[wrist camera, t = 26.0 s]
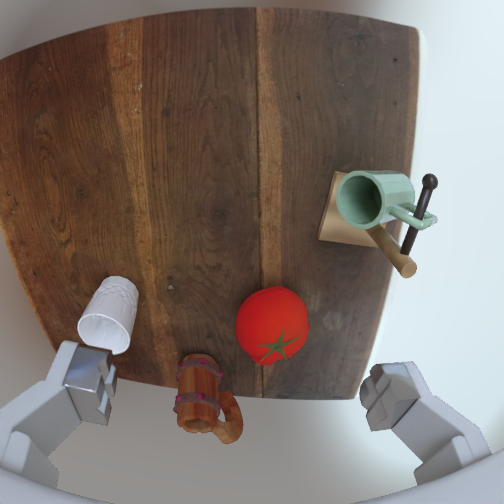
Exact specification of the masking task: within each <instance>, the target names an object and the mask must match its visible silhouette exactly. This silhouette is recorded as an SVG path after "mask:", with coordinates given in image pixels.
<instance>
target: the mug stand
mask: <svg viewBox="0 0 504 504" xmlns="http://www.w3.org/2000/svg"><path fill="white" fill-rule="evenodd" d="M347 174H348V173H343V172H338V171H334V175H333V178H332V182H331V186H330V190H329V194H328V197H327V201H326V205H325V209H324V212H323V216H322V219H321V223H320V227H319V230H318V234H317V237H318V239H319V240H324V241H332V242H340V243H347V244H355V245H362V246H370V247H377V248H378V246H379V248H380V249H381V250H382V251H383V253H384V254H385V255H386V256H387V258H388V259H389V260H390V261H391V263H392V264H393V265H394V267H395V268H396V269H397V270H398V272H399V273H400V274H401V276H402V277H403V278H409V277H411V276H413V275H414V274H415V272H416V270H417V265H416V263H415V262H414V261H413V260H412V259H411V258H410V257H409V253H410V250H411V248H412V246H413V243H414V241H415V238H416V236H417V233H418V229H416V228H415V227H413V226H411V225H410V226H409V228H408V231H407V234H406V236H405V239H404V242H403V244H402V247H401V246H400V245H399V244H398V243H397V242H396V241H395V240H394V239H393V238H392V236H391V235H390V234H389V233H388V232H387V231H386V230H385V227H386V224H387V223H384V224H381V225H378V226H375V227H372V228H369V229H357V228H354V227H353V226H351V225H349V224H347V223H346V221H345V220H344V219H343V218H342V217H341V215H340V213H339V210H338V208H337V205H336V192H337V188H338V185H339V183H340V182H341V180H342V179H343V177H344V176H345V175H347ZM422 184H423V188H422V192H421V195H420V198H419V200H418V203H417V206H416V209H415V212H414V215H413V217H415V218H417V219H418V220H420V221H422V220H423V217H424V214H425V212H426V209H427V206H428V203H429V200H430V197H431V194H432V191H433V190H434V189H435V188H436V187H437V185H438V180H437V178H436V176H435V175H433V174H426V175H425V176H424V177H423V179H422Z"/></svg>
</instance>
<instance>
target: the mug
mask: <svg viewBox="0 0 504 504" xmlns="http://www.w3.org/2000/svg"><path fill="white" fill-rule="evenodd" d="M178 365H179V367H178V372H177V376H176V380H177V381H179V389H178V395H177V396H176V400H175V407H174V408H173V411H174V412H176V413H177V414H178V415H177V423H178V425H179V427H183V429H184V430H186V431H187V432H191V433H197V432H201V433H207V432H210V431H211V432H213V433H214V434H215V435H216V436H217V437H218V438H219V439H220V440H221V442H223V443H224V444H229V443H232V442H234V441H236V440H238V438H239V437H240V435H241V434H242V430H243V419H242V414H241V411H240V408H239V406H238V404H237V402H236V400H235V398H234V397H233V395H232V394H231V392H230V391H228V390H227V391H222V392H218V388H219V386H220V383H221V377H223V376H224V372H223V371H222V370H220V369H219V365H218V363H217V362H216V361H215V360H214V358H212V357H211V356H209V355H206V354H191V355H188V356H186V357H185V358H184V359H183V360H182V361H180V362H179V363H178ZM221 408H222V410H223V412H224V414H225V420H226V422H221V421H220V420H219V419H218V416H219V415H220V409H221Z"/></svg>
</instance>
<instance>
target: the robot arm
mask: <svg viewBox="0 0 504 504" xmlns="http://www.w3.org/2000/svg"><path fill="white" fill-rule="evenodd" d="M113 358H114V357H113V353H112V350H110V349H105V348H100V347H95V346H90V345H86V344H81V343H76V342H71V341H67V340H65V341H64V342H63V343H61V345H60V347H59V350H58V352H57V354H56V356H55V359H54V361H53V363H52V365H51V368H50V370H49V373H48V375H47V378H46V380H45V381H42V380H40V381H39V382H38V383H36V384H35V385H33V386H32V387H30V388H29V389H27V390H26V391H25V392H23V393H22V394H20V395H19V396H18V397H16V398H15V399H13V400H12V401H10V402H9V403H8V404H6V405H5V406H4V407H2V408H1V409H0V504H112V503H108V502H103V501H99V500H95V499H91V498H87V497H83V496H79V495H76V494H72V493H69V492H65V491H62V490H59V489H56V486H57V481H58V476H59V472H58V470H57V469H56V468H55V466H54V465H53V464H52V463H51V462H50V461H49V460H48V458H47V457H48V456H49V455H50V454H51V453H52V452H53V451H54V450H55V448H57V447H58V446H59V445H60V444H61V442H63V440H65V439H66V437H68V436H69V435H70V434H71V432H73V430H75V429H76V427H77V426H79V425H80V424H81V421H86V422H91V423H95V424H101V425H106V426H107V425H108V421H109V417H110V413H111V404H110V401H109V400H110V399H111V398H112V397H114V395H115V391H116V382H117V372H116V367H115V366H114V365H113V364H112V362H113ZM370 374H371V376H369V377H368V378H366V379H365V380H364V381H363V383H362V385H361V387H360V393H359V394H360V401H361V404H362V406H363V407H364V408H366V409H367V410H368V411H367V414H366V418H367V421H368V424H369V426H370V429H371V431H379V430H386V429H391V430H392V431H393V432H394V433H395V434H396V435H397V436H398V437H399V438H400V439H401V440H402V441H403V442H404V443H405V444H406V445H407V446H408V447H409V448H410V449H411V450H412V452H414V453H415V455H416V456H418V457H419V459H420V460H421V461H422V462H423V464H421V465H420V466H419V467H418V468H416V469H415V471H414V476H415V478H416V482H417V485H418V486H415V487H412V488H409V489H406V490H403V491H400V492H396V493H392V494H389V495H385V496H381V497H378V498H373V499H370V500H365V501H361V502H356V503H352V504H504V449H502V450H500V451H498V452H496V453H494V454H491V451H490V449H489V447H488V445H487V443H486V441H485V439H484V437H483V435H482V433H481V431H480V429H479V427H477V426H476V425H475V424H473V423H472V422H471V421H469V420H468V419H467V418H465V417H464V416H463V415H461V414H460V413H459V412H457V411H456V410H455V409H453V408H452V407H451V406H449V405H448V404H446V403H445V402H444V401H442V400H441V399H440V398H438V397H437V396H433V395H432V394H431V392H430V390H429V388H428V386H427V384H426V382H425V380H424V378H423V377H422V374H421V373H420V371H419V369H418V367H417V365H416V364H415V363H414V362H413V361H412V362H401V363H399V362H397V363H385V364H376V365H374V366H373V367H372V368H371V370H370Z"/></svg>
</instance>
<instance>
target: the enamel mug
mask: <svg viewBox="0 0 504 504" xmlns="http://www.w3.org/2000/svg"><path fill="white" fill-rule="evenodd" d="M414 202H415V191H414V187H413V185H412V183H411V181H410V180H409V179H408V178H407V177H406V176H405V175H404V174H402V173H400V172H397V171H353V172H351V173H349V174H347V175H345V176H344V177H343V179H342V180H341V182H340V183H339V185H338V188H337V192H336V205H337V208H338V210H339V213H340V215H341V217H342V218H343V219H344V220H345V221H346V223H347V224H349V225H351V226H353V227H354V228H357V229H369V228H372V227H375V226H378V225H381V224H384V223H387V222H390V221H393V220H396V219H400V220H401V221H403V222H405V223H407V224H409V225H411V226H413V227H415V228H416V229H418V230H423V229H425V228H427V227H429V226H431V225H433V224H435V223H437V217H436V216H434V215H432V214H430V213H429V212H427V211H426V212H425V214H424V217H423V219H424V220H422V221H420V220H418V219H417V218H415V217H413V216H411V215H409V214H408V213H409V212H412V213H414V212H415V209H416V206H415V205H414Z"/></svg>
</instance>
